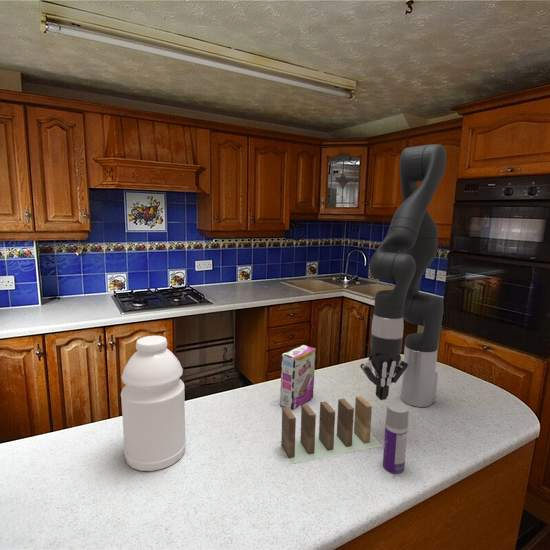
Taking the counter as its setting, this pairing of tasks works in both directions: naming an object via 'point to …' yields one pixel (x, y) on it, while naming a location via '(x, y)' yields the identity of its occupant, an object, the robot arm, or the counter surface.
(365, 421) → the domino
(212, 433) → the counter surface
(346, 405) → the domino
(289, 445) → the domino
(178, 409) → the bottle
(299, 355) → the candy bar box
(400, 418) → the container
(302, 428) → the domino
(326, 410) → the domino
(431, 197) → the robot arm
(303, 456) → the mat
